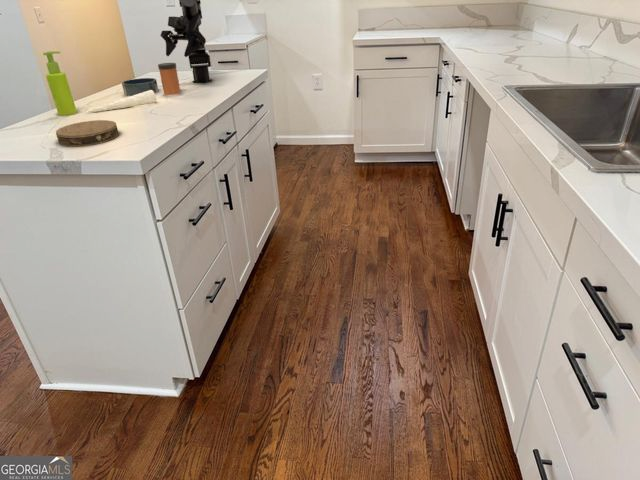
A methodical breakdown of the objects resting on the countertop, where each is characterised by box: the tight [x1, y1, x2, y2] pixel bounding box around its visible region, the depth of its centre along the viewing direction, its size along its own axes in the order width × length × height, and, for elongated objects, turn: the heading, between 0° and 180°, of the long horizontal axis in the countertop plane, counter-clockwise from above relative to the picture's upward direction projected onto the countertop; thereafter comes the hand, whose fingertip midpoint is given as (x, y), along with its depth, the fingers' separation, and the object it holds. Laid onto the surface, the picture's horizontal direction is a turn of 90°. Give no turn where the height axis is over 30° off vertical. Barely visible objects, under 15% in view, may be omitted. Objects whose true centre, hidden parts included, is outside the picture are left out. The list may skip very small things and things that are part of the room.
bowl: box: [121, 77, 159, 97], centre depth 181 cm, size 13×13×5 cm
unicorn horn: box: [86, 90, 158, 113], centre depth 160 cm, size 5×24×5 cm, turn 118°
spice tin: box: [157, 62, 181, 96], centre depth 176 cm, size 7×7×12 cm
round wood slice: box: [55, 119, 120, 148], centre depth 128 cm, size 16×16×3 cm
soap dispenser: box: [42, 50, 78, 116], centre depth 152 cm, size 6×7×20 cm
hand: (176, 56), depth 176 cm, fingers open, 9 cm apart
